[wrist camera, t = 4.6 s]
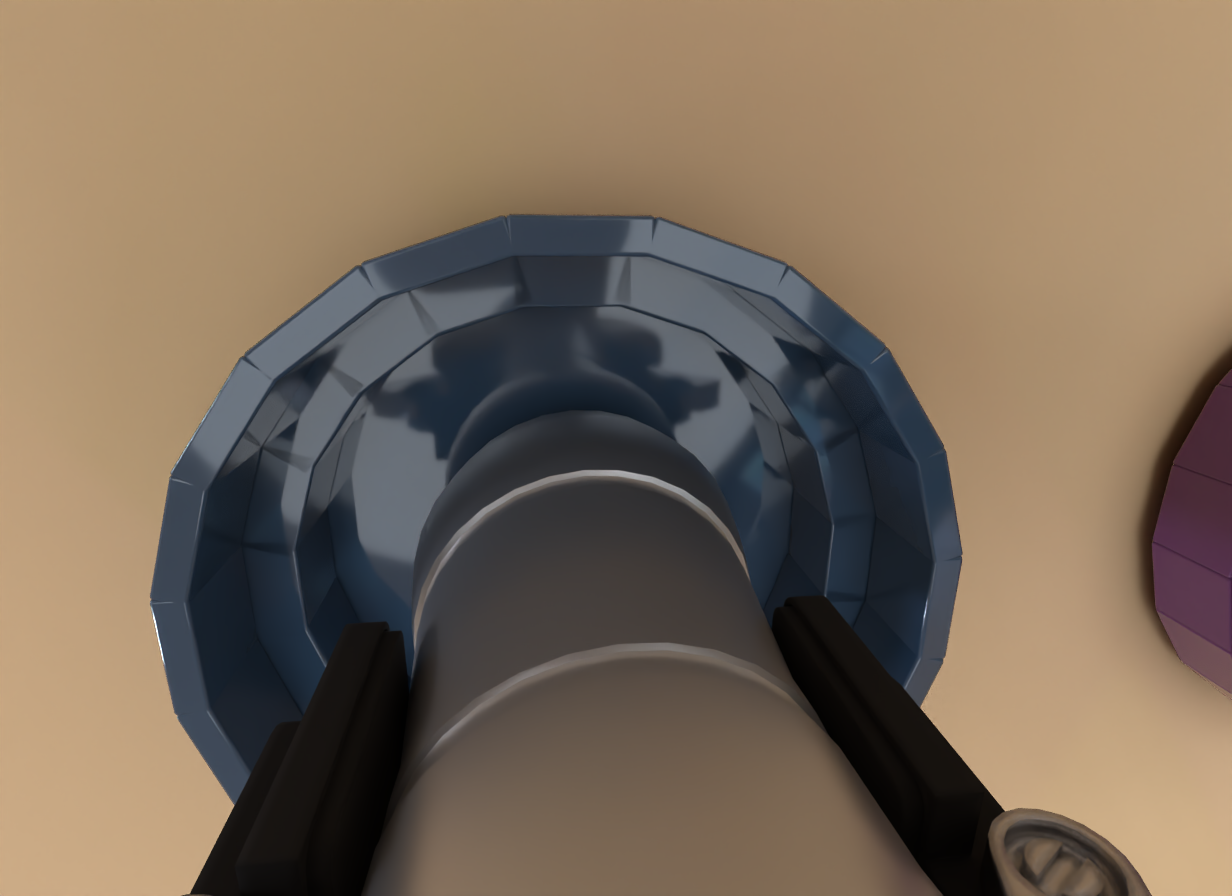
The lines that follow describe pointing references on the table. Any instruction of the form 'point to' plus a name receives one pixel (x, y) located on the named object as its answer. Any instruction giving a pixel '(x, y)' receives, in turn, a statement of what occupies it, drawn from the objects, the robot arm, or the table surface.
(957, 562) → the blue bowl
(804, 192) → the table surface
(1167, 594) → the plum bowl
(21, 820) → the table surface
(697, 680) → the silver metal bottle
